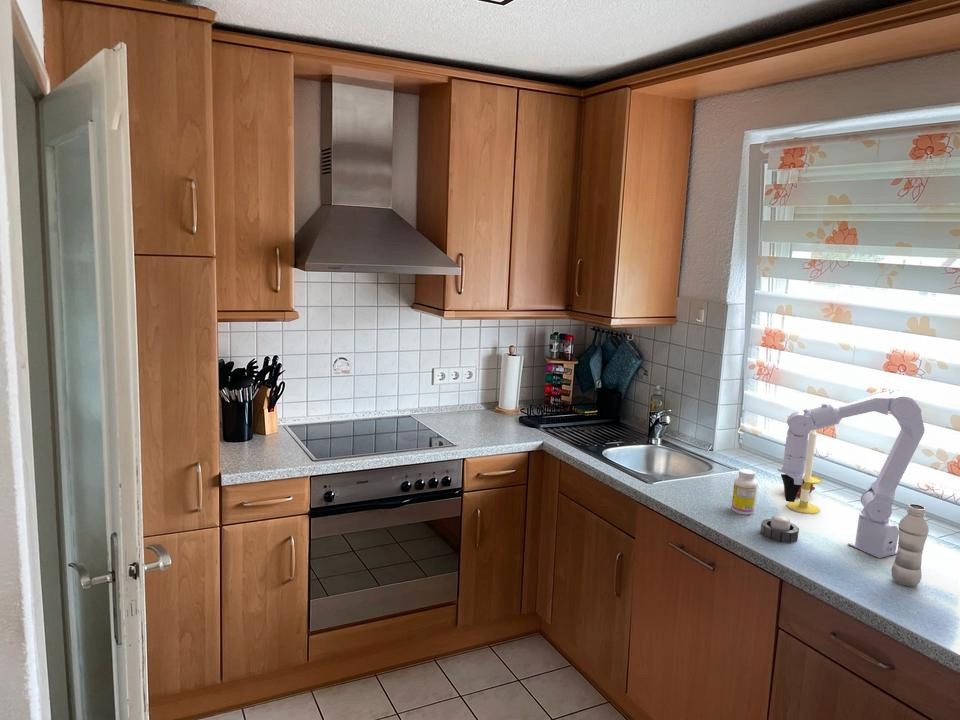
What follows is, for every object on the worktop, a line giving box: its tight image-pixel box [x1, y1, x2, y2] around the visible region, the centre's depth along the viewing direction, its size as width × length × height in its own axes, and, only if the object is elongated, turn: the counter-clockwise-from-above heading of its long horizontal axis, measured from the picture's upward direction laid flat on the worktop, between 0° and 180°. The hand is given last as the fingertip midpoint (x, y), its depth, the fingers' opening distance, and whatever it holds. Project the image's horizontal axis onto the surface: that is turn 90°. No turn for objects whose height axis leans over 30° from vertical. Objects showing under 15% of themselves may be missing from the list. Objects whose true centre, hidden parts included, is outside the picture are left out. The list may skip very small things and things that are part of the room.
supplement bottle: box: [731, 468, 758, 516], centre depth 219 cm, size 7×7×13 cm
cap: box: [770, 515, 791, 531], centre depth 202 cm, size 5×5×5 cm
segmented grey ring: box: [759, 518, 800, 544], centre depth 203 cm, size 10×10×3 cm
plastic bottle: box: [891, 503, 930, 587], centre depth 176 cm, size 6×7×20 cm
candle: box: [786, 430, 823, 515], centre depth 223 cm, size 10×10×27 cm
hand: (789, 500), depth 203 cm, fingers closed
